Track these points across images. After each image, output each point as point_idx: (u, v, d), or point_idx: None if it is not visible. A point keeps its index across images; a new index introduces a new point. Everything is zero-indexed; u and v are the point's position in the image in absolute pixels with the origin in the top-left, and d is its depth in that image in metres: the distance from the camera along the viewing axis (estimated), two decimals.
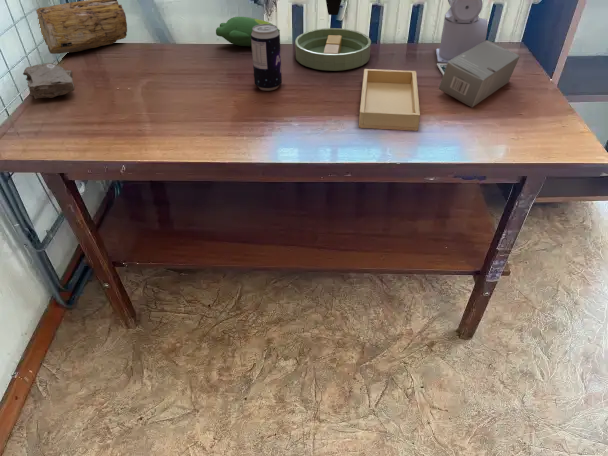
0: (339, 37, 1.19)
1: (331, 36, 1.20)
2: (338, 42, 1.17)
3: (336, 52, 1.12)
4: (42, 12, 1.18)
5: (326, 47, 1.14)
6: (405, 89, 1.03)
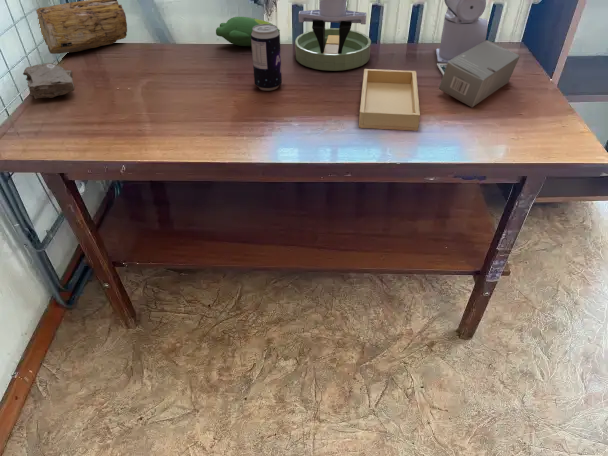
0: None
1: (331, 36, 1.20)
2: (338, 42, 1.17)
3: (336, 52, 1.12)
4: (42, 12, 1.18)
5: (326, 47, 1.14)
6: (405, 89, 1.03)
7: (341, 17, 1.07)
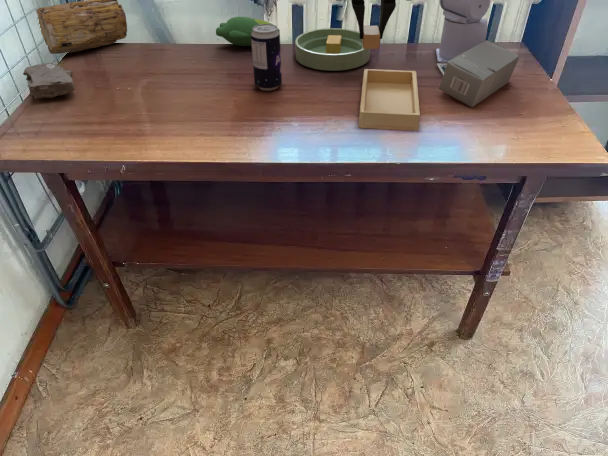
0: (339, 37, 1.19)
1: (331, 36, 1.20)
2: (338, 42, 1.17)
3: (378, 33, 1.00)
4: (42, 12, 1.18)
5: (364, 29, 1.03)
6: (405, 89, 1.03)
7: None
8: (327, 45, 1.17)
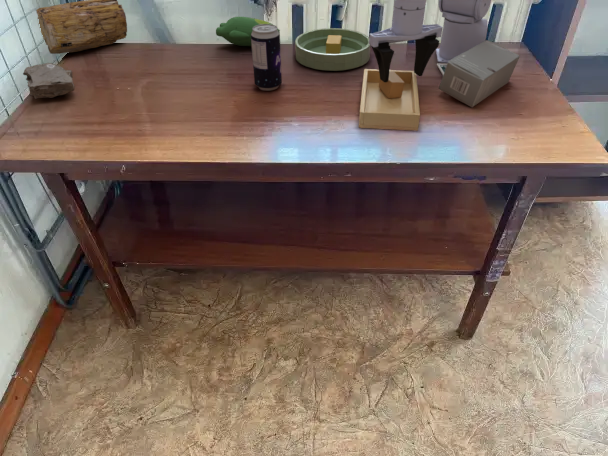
0: (339, 37, 1.19)
1: (331, 36, 1.20)
2: (338, 42, 1.17)
3: (390, 82, 0.98)
4: (42, 12, 1.18)
5: (382, 89, 1.02)
6: (405, 89, 1.03)
7: (422, 33, 0.94)
8: (327, 45, 1.17)
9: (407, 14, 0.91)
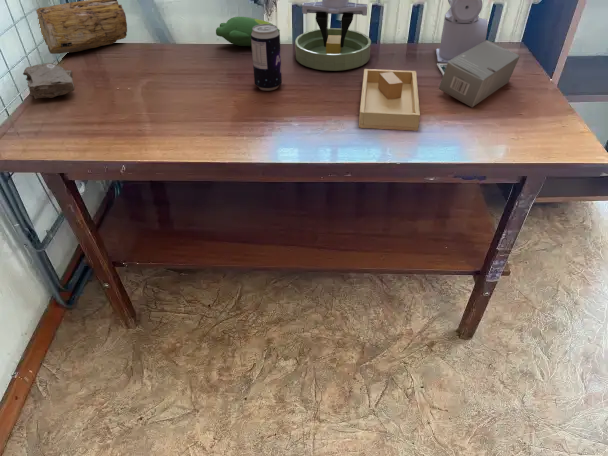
0: (339, 37, 1.19)
1: (331, 36, 1.20)
2: (338, 42, 1.17)
3: (388, 84, 0.98)
4: (42, 12, 1.18)
5: (381, 90, 1.02)
6: (405, 89, 1.03)
7: None
8: (327, 45, 1.17)
9: None
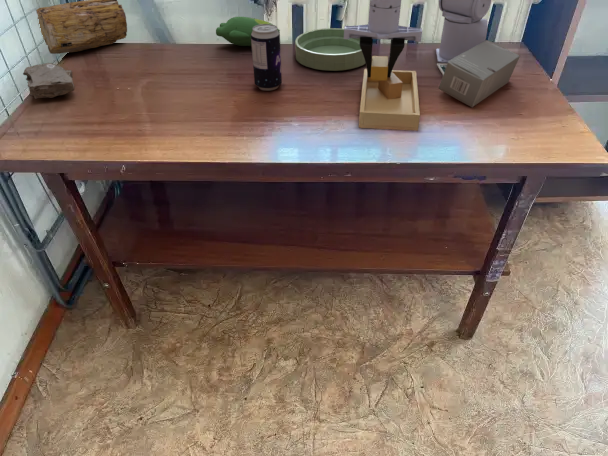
0: (385, 58, 1.00)
1: (375, 58, 1.01)
2: (385, 65, 0.98)
3: (388, 84, 0.98)
4: (42, 12, 1.18)
5: (381, 91, 1.02)
6: (405, 89, 1.03)
7: None
8: (372, 69, 0.98)
9: None
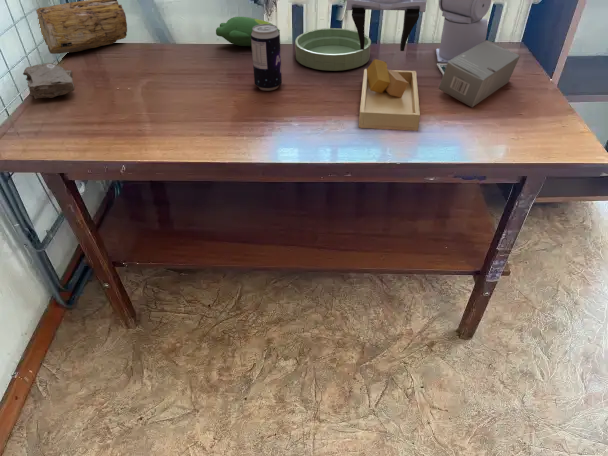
0: (374, 65, 1.00)
1: (369, 71, 1.02)
2: (376, 77, 0.99)
3: (394, 80, 0.98)
4: (42, 12, 1.18)
5: None
6: (405, 89, 1.03)
7: None
8: (373, 89, 1.01)
9: None
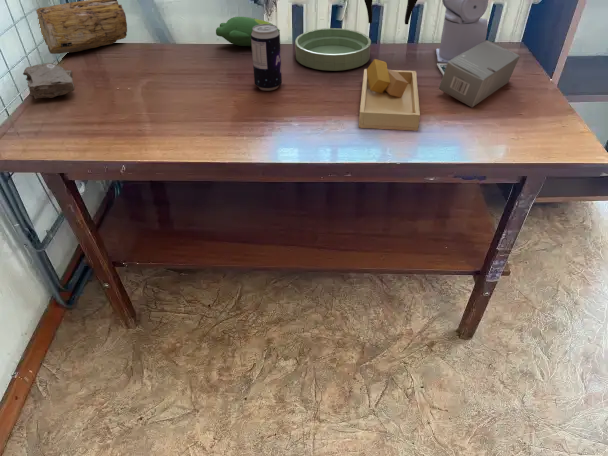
0: (374, 65, 1.00)
1: (369, 71, 1.02)
2: (376, 78, 0.99)
3: (394, 80, 0.98)
4: (42, 12, 1.18)
5: None
6: (405, 89, 1.03)
7: None
8: (373, 89, 1.01)
9: None
